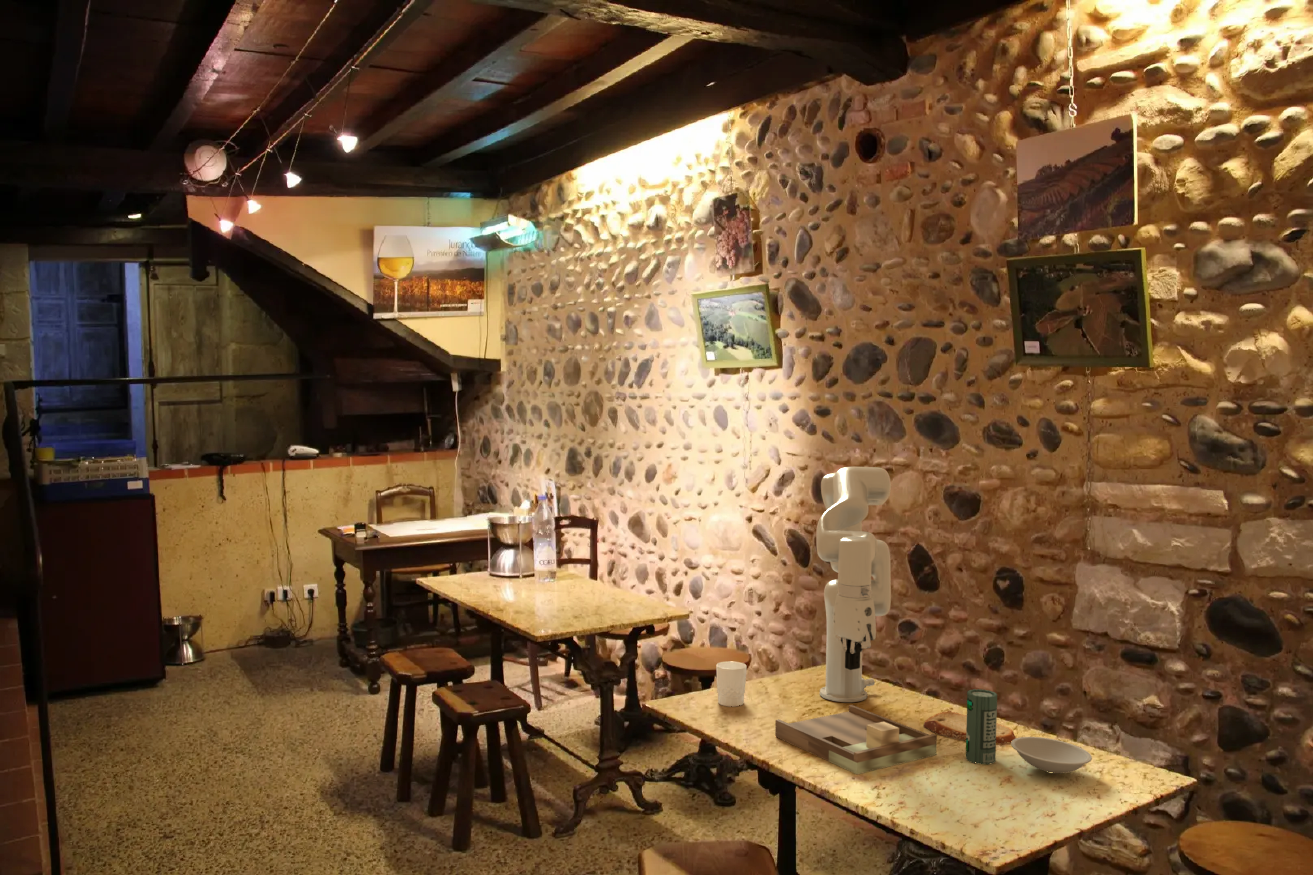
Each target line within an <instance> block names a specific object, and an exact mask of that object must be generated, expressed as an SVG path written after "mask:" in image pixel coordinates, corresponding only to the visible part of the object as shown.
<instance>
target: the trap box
mask: <svg viewBox="0 0 1313 875" xmlns="http://www.w3.org/2000/svg"><path fill="white" fill-rule="evenodd" d="M880 722H886V723H888V724H891V725H893V726H895V727H898V728H899V742H897V743H892V744H888V745H883V746H879V747H875V748H868V747H866V739H867V725H869V724H874V723H880ZM774 729H775V730H774V731H775V732H774V733H775V734H774V735H775V736H776V737H775V738H777V737H778V739H779V738H780V739H779V740H781V739H782V740H781V741H784V742H785V743H788V744H791V745H792V746H794V745H795V747H797V748H799V749H800V750H804V751H806V752H807V753H810V754H812V755H814V756H816V757H818V758H821V759H823V760H825V761H827V762H829V763H831V764H833V765H835V766H838V767H840V768H842V769H844V770H846V771H849V772H850V773H853V774H856V775H859V774H865V773H868V772H871V771H877V770H880V769H884V768H889V767H893V766H897V765H900V764H901V765H902V764H905V763H909V762H913V761H918V760H922V759H924V758H929V757H933V756H936V755H937V740H938V739H937V736H938V734H936V733H932V734H928V733H927V732H924V731H921V730H918V729H916V728H913V727H911V726H908V725H905V724H903V723H901V722H898V721H895V720H892V719H890V718H887V717H884V716H882V715H879V714H876V713H874V712H871V711H869V710H866V709H864V708H861V707H858V706H855V705H853V704H849V705H848V711H845V712H840V713H835V714H829V715H824V716H819V717H815V718H810V719H805V720H799V721H794V722H791V723H790V722H789V723H788V722H785V721H784V720H781V719H779V718H778V719H775V728H774Z"/></svg>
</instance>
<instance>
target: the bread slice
mask: <svg viewBox="0 0 1313 875" xmlns="http://www.w3.org/2000/svg"><path fill="white" fill-rule="evenodd" d="M966 724H967V714H962V713H959V712H955V711H952V710H947V711H941V712H938V713H935V714H934V715H931V716H930V717H929V718H927V719H926V720H925V721H924V722H923V728H925V729H927V730H929V731H931V733H933V734H935V735H939V736H941V737H942V736H943V737H946V738H950V739H955V740H959V741H965V740H966ZM1016 738H1017V737H1016V735H1015V733H1014V731H1013V729H1011V728H1010V727H1009V726H1005V725H1004V724H1000V723H997V722H996V743H1001V744H1008V743H1007V742H1011V741H1012V740H1014V739H1016Z"/></svg>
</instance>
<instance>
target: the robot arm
mask: <svg viewBox="0 0 1313 875" xmlns="http://www.w3.org/2000/svg"><path fill="white" fill-rule="evenodd" d="M891 488H892V483H891V477H890V475H889V473H888V471H887V470H886V469H885V468H884V467H883V468H882V467H876V466H875V467H874V466H845V467H841V468H840V469H838V470H837V471H836V472H833V473H832V472H831V473H828V474H826V475H824V476H823V477H822V478H821V482H820V490H821V491H820V492H821V498H822V501H823V505H824V507H825V510H826V511H824V512H823V514H822V515H821V516H820V518H819V519H818V521H817V526H816V537H815V538H816V551H817V552H816V553H817V556H818V557H819V558H820V560H822V561H823V562H827V563H830V568H831V570H833V571H834V572H836V573H838V574H837V579H832V580H829V581H828V582H827V583H826V584H825V586H824V590H823V598H824V606H825V607H824V608H825V615H826V643H825V644H826V647H825V648H826V650H825V653H826V654H825V657H826V658H825V686H823V687H821V688H820V689H819V696H820V697H821V698H823V699H826V700H827V701H828V700H829V701H833V702H841V703H858V702H862V701H864V700H867V698H868V692H867V691H866V690H865V689H866V688H867V687H872V686H875V683H876V681H875V679H874V678H872V677H871V678H867V679H866V678H863V650H864V649H865V650H866V649H871V648H872V644H871V641H874V640H876V638H877V625H876V624H877V622H876V621H877V620H876V618H877V617H882V616H886V615H888V614H889V612H890V609H891V604H892V603H891V601H892V598H891V597H892V588H891V586H892V584H891V582H892V580H891V576H892V575H891V574H892V573H891V570H892V569H891V565H892V564H891V553H890V552H891V551H890V548H889V545H888V544H887V542H885V541H884V540H880V539H877V538H876V536H875V534H873V533H872V532H870V531H864V530H863V521H864V520H865V519H866V518H867V516H868V514H869V506H881V505H882V506H883V505H884V504H885V503H886V502H887V500H888V499H889V498H890V494H891ZM872 578H873V579H872Z"/></svg>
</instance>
